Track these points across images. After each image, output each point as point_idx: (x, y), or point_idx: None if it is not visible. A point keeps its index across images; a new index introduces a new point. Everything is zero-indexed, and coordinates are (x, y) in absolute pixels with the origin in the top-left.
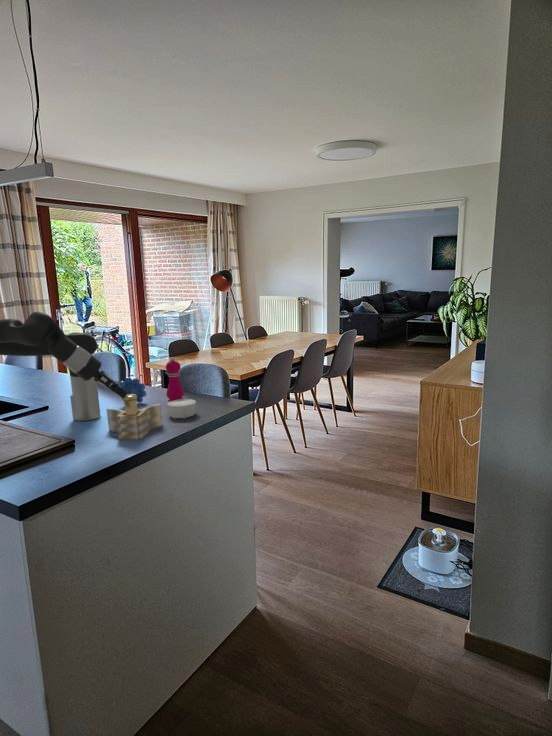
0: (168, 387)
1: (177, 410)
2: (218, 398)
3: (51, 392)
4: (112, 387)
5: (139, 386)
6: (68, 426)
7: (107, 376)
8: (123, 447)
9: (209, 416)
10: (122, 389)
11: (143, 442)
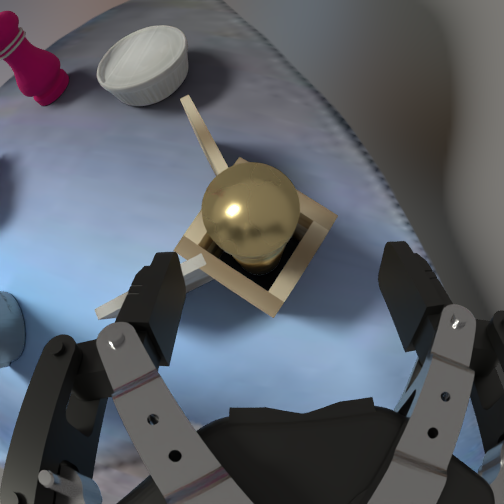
0: (21, 77)
1: (173, 74)
2: (101, 16)
3: None
4: (170, 321)
5: None
6: None
7: (445, 455)
8: (366, 313)
9: (218, 33)
10: (426, 275)
11: (355, 242)
